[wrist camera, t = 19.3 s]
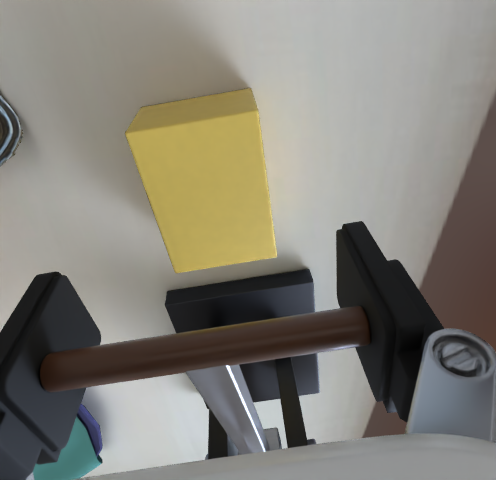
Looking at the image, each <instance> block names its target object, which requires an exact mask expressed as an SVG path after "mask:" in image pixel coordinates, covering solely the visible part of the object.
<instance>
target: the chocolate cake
mask: <svg viewBox="0 0 496 480" xmlns="http://www.w3.org/2000/svg"><path fill="white" fill-rule="evenodd" d="M9 105H10V104H7V102H6V101H5V100H4V98H3V97H2V96H1V95H0V166H2V165H3V164H4V163H5V162H6V161H7V160H8V159H10V158H11V157H12V156H14V155H15V153H14V152H15V150H16V149H17V147H18V146H19V145H18V143H19V142H20V143H21V140H20V139H21V138H22V134H23V132H22V131H23V130H21V128H20V123H19V122H18V121H19V120H18V119H19V118H18V117H17V115H16V113H15V112H14V111H13V110H12V108H11V107H10V106H9Z"/></svg>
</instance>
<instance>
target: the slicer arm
mask: <svg viewBox="0 0 496 480" xmlns="http://www.w3.org/2000/svg"><path fill="white" fill-rule="evenodd" d="M370 342H371V331H370V325H369V321H368V318H367V315H366V313H365V311H364V309H363V308H362V307H361V306H353V307H346V308H340V309H333V310H327V311H320V312H313V313H307V314H300V315H294V316H287V317H281V318H274V319H268V320H261V321H255V322H248V323H242V324H235V325H229V326H222V327H215V328H209V329H202V330H196V331H189V332H183V333H176V334H170V335H163V336H157V337H150V338H144V339H137V340H130V341H124V342H117V343H111V344H104V345H98V346H91V347H85V348H78V349H72V350H65V351H59V352H52V353H50V354H48V355H47V356H46V357H45V358H44V359H43V361H42V364H41V367H40V381H41V385H42V387H43V388H44V389H45V390H46V391H48V392H58V391H65V390H71V389H78V388H85V387H91V386H98V385H105V384H112V383H118V382H125V381H132V380H138V379H145V378H152V377H159V376H165V375H172V374H179V373H185V372H186V374H187V375H188V377H189V378H190V380H191V381H192V383H193V384H194V386H195V387H196V389H197V390H198V392H199V393H200V394H201V396H202V397H203V399H204V400H205V402H206V403H207V405H208V406H209V408H210V409H211V411H212V412H213V414H214V415H215V417H216V418H217V420H218V421H219V423H220V424H221V425H222V427H223V428H224V430H225V431H226V433H227V434H228V436H229V437H230V439H231V440H232V442H233V443H234V445H235V446H236V448H237V449H238V455H243V454H251V453H258V452H265V451H272V450H279V449H282V446H281V440H280V436H279V432H278V429H277V428H270V429H263V428H262V425H261V422H260V420H259V417H258V414H257V412H256V409H255V406H254V404H253V401H252V398H251V396H250V393H249V390H248V388H247V385H246V382H245V380H244V377H243V374H242V372H241V369H240V366H239V364H246V363H252V362H259V361H266V360H273V359H279V358H286V357H293V356H299V355H306V354H313V353H319V352H326V351H333V350H340V349H346V348H353V347H360V346H366V345H368V344H370Z"/></svg>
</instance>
